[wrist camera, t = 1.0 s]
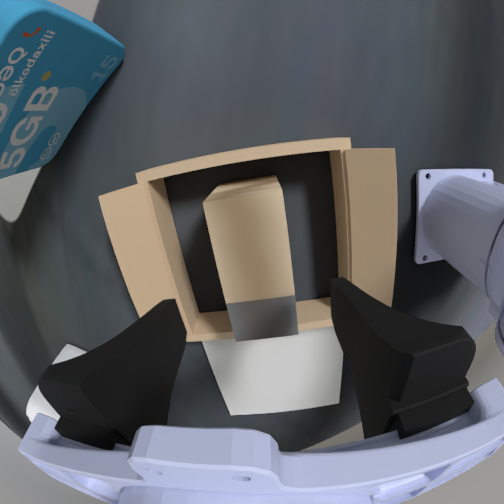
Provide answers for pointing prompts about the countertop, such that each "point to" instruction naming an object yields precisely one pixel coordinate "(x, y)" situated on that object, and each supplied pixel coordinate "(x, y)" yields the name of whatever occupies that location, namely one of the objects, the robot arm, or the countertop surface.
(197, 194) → the countertop surface
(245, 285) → the capped block
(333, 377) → the mat
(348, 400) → the countertop surface
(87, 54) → the data package
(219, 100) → the countertop surface
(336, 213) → the carton
